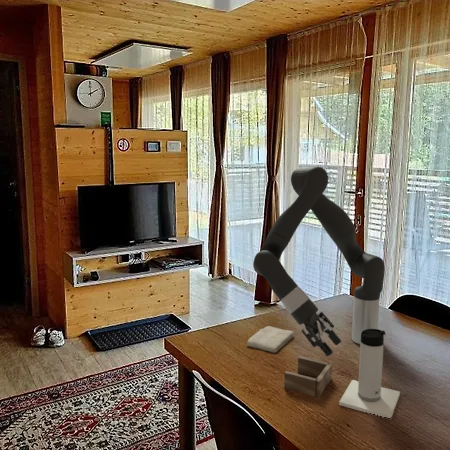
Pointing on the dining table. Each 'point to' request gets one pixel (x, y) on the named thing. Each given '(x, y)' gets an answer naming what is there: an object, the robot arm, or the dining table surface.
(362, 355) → the travel mug
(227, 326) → the dining table surface
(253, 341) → the washcloth
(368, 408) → the white mat
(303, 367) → the walnut cubby
